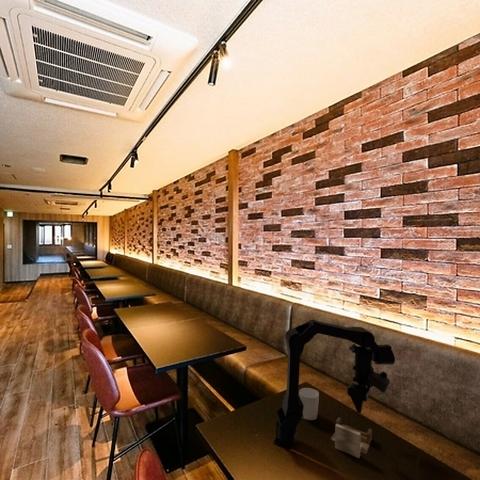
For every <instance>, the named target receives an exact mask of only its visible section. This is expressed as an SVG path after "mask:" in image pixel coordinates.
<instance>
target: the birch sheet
mask: <svg viewBox="0 0 480 480" xmlns="http://www.w3.org/2000/svg"><path fill="white" fill-rule="evenodd" d="M334 428H335V429H334V433H335V441H334V449H336V450H339V451H341V452H344V453H346V454H348V455H350V456H353V457H355V458H357V459H360V457H361V452H360V446H361V433H360V432H357V431H355V430H352V429H350V428H347V427H344V426H342V425H339V424H336V423H335V427H334Z"/></svg>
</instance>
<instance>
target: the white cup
mask: <svg viewBox="0 0 480 480" xmlns="http://www.w3.org/2000/svg"><path fill="white" fill-rule="evenodd" d="M299 396H300V398H301V400H302V403H303V405H304V408H303V416H304V417H302V419H304V420H307V421H314V420H316V419H317V418H318V410H319V399H320V397H319V396H320V393H319V391H318V390H316V389H314V388H310V387H302V388H299V393H298V397H299Z"/></svg>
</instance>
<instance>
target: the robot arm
mask: <svg viewBox="0 0 480 480" xmlns="http://www.w3.org/2000/svg"><path fill="white" fill-rule="evenodd" d="M317 334H318V335H319V334H320V335H324V336H328V337H333V338H338V339H342V340H347V341H349V342H352V343H353V344H352V345H350V346H349V347H348V350H349V351H350V352H351V353H354V365H353V366H352V370H353V371H354V374H353V375H354V376H353V377H352V382H355V383H350V384H349V385H348V387H347V389H346V390H347V393H346V395H348V397H350V399H351V400H352V403H353V405H354V408H355V410H356V412H357V413H358V414H362V410H363V405H364V403H365V402H368V398H369V394H370V390H371V388H372V387H373V388H376V389H377V390H379V391H380V392H381V393H385V392H386V391H387V388H388V387H389V384H390V379H389V378H388V373H387V372H386V371H384V370H383V371H382V370H381V372H375V370H374V369H375V368H374V366H372V363H373V362H374V364H376V365H377V366H378V365H394V364H395V363H396V362H395V361H396V357H395V354H394V351H393V350H392V348H393V347H392V346H391V345H389V344H377V342H376V338H375V335H374V334H373V333H372V332H370V331H369V330H368V329H366V328H364V327H362V326H348V327H346V326H342V325H337V324H332V323H329V322H328V323H327V322H323V321H320V320H319V321H318V320H316V319H310V320H308V321H307V322H305V323H303V324H300V325H297V326H296V327H294V328H289V329H288V330H287V331H286V332H285V333H284V338H285V347H286V350H287V370H286V372H287V373H286V393H285V396H284V397H283V401H282V404H281V407H279V409H278V410H276V411H275V413H276V417H277V421H276V423H275V439H274V440H273V443H274V444H276V445H278V446H279V447H282V448H284V449H286V450H287V451H291V449H292V447H294V446H295V445H296V443H297V437H298V433H297V432H298V430H296V429H297V426H298V425H299V424H300V423H301V422H302V419H303V417H304V416H303V408H304V405H303V403H302V400H301V398H300V396H299V391H300V388H299V387H300V368H301V366H300V362H301V357H302V355H303V352H304V348H305V345H306V344H308V343H309V342H310V341H312V339H313V338H314V337H315V336H316V335H317ZM357 345H358V346H357Z"/></svg>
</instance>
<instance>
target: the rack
mask: <svg viewBox="0 0 480 480" xmlns="http://www.w3.org/2000/svg"><path fill="white" fill-rule="evenodd" d="M336 424H339V425H342V426H344V427H347V428H350V429H352V430H355V431H357V432H360V433H361V443H362V444H363V450H362V451H360V454H361V453H362V454H365V455H367V454H368V451H369V449H370V448H369V447H370V445H371V442H372V440H373V429H372V428H368V429H367V432H364V431H361V430H359V429H357V428H354V427H351V426H349V425H346V424H343V423H342V417H341V416H338V418H337V419H336V420H335V425H336ZM330 440H331V441H334V442H335V432H334V433H333V434H332V436H331V437H330Z"/></svg>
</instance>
